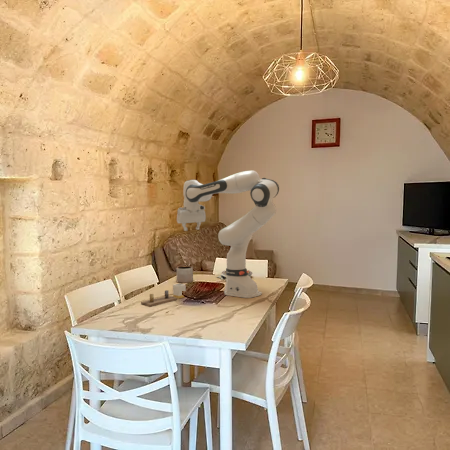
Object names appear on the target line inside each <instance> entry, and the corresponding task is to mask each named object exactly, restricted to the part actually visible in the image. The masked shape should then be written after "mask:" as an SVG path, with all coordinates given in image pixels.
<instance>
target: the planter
mask: <svg viewBox="0 0 450 450" xmlns="http://www.w3.org/2000/svg"><path fill="white" fill-rule="evenodd" d="M193 268H194V267H193V266H190V265H180V266H177V267H176V282H177V283H178V284H179V283H180V284H189V282H190V283H192V282H193V281H194V270H193Z"/></svg>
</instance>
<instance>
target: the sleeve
mask: <svg viewBox="0 0 450 450" xmlns="http://www.w3.org/2000/svg"><path fill="white" fill-rule="evenodd" d="M186 289H187V287H186V283H179V282H178V283H176V284H175V283H174V284H172V297H176V298H177V300H178V299H182V298H185V297H184V296H183V295H182V291H186ZM186 292H187V291H186Z"/></svg>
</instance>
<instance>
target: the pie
mask: <svg viewBox="0 0 450 450" xmlns="http://www.w3.org/2000/svg"><path fill="white" fill-rule="evenodd" d="M247 271H248V270H247ZM248 275H249V276H250V278H252V275H253V271H250V270H249V271H248ZM220 276H221V277H220ZM216 278H218V279H220V280H224V281H226V279H227V275H226V270H222V272H221V273H220V275H218V276H217V277H216Z"/></svg>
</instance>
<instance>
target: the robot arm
mask: <svg viewBox="0 0 450 450" xmlns="http://www.w3.org/2000/svg"><path fill="white" fill-rule="evenodd" d="M182 189H183V192H182V193H183V194H182V195H183V207H179V208H178V209H177V211H176V212H177V214H176V222H177V224H181V226H182V227H183V231H184V232H188V227H187V226H186V225H187V224H191V223H192V224H193V223H196V224H197V225H196V226H195V230H197V231H199V230H200V226H201V224H202V223H205V222H206V218H207V216H206V211H205V210H206V207H205V205H202V204H200V203H199V202H201V203H202V202H209V201H211V199H212V198H213V195H214V194H215V195H216V194H232V195H233V194H242V193H245V192H248V191H250V192H249V194H250V198H251V200H252V201H253V202H254V205H255V206H254V207H253V208H251V209H250V210H248V212H247V213H246V214H244V215H243V216H241V217H240V218H238V219H237V220H235V221H234V222H232V223H230V224H229V225H227V226H225V227H223V228H222V229H220V230H219V232H218V234H217V238H218V240H219V243H220V244H221V245H222V246H230V249H229V250H228V252H227V254H226V268H225V271H226V275H227V279H226V278H225V279H226V280H225V286H224V287H225V288H224V291H223V293H224V296H231V297H238V298H245V299H250V298H255V297H259V296H261V295H262V294H263V291H259V288H258V284H257V282H256V281H255V280H254V279H253V278H252V277H250V276H249V275H248V271H250V269H249V270H248V269H247V267H246V265H247V264H246V263H247V261H246V259H247V251H248V246H249V244H250V241H251V240H252V238H253V236H254V235H253V234H254V233H256V232H258V231H259V230H260V229H261V228H263V227H264V225H266V224H267V223H268V222H269V221H271V219H272V218H273V217H274V216H275V215H276V212H277V207H276V205H275V204H274V202H273V199H274V198H276V196H278V194H279V191H280V186H279V184H278V182H277V181H276V180H274V179H270V178H266V177H263V178H261V177H260V174H259V173H258V172H257V171H256V170H253V169H252V170H244V171H240V172H237V173H234V174H231V175H229V176H226V177H223V178H221V179H218V180H216V181H212V182H209V183H204V184H203V183H201V182H199V181H198V180H197V179H189V180H186V181H185V182H184V183H183V188H182Z"/></svg>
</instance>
